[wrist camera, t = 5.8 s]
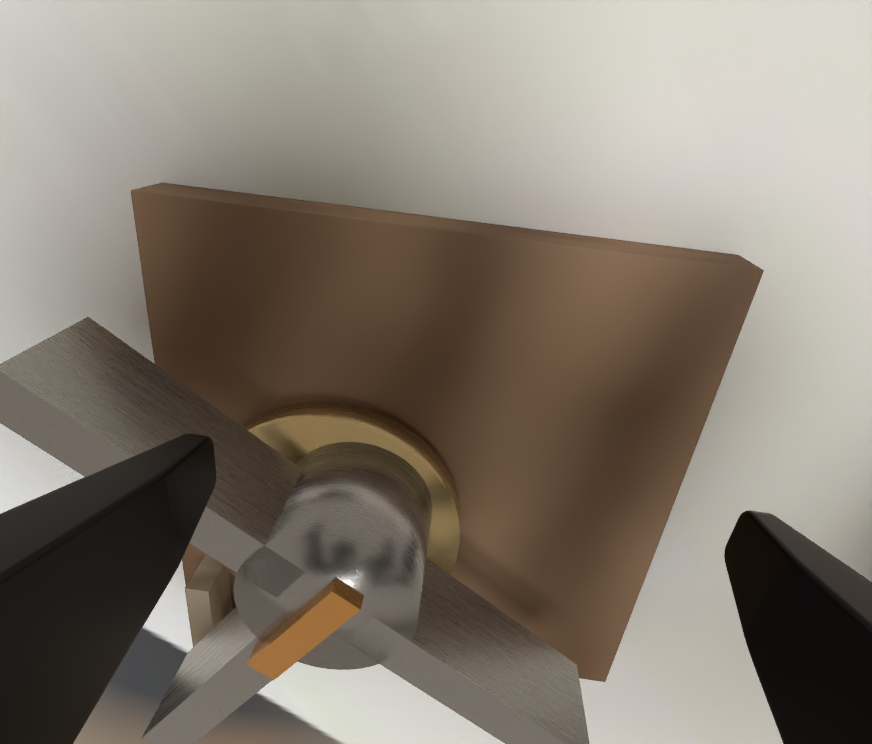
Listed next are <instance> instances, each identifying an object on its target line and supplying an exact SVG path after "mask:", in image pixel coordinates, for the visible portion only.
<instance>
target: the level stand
mask: <svg viewBox="0 0 872 744" xmlns="http://www.w3.org/2000/svg"><path fill="white" fill-rule="evenodd" d="M131 196H132V203H133V210H134V217H135V225H136V232H137V239H138V246H139V253H140V260H141V268H142V275H143V282H144V289H145V296H146V303H147V311H148V318H149V325H150V332H151V339H152V347H153V354H154V361H155V365H156V366H158V367H159V368H161V369H162V370H163V371H165V372H166V373H168V374H169V375H171V376H172V377H173V378H175V379H176V380H178V381H179V382H180V383H182V384H183V385H185V386H186V387H187V388H189V389H190V390H192V391H193V392H194V393H196V394H197V395H199V396H200V397H201V398H203V399H204V400H206V401H207V402H208V403H210V404H211V405H213V406H214V407H215V408H217V409H218V410H220V411H221V412H222V413H224V414H225V415H227V416H228V417H230V418H231V419H232V420H234V421H235V422H237V423H238V424H239V425H241V426H242V427H244V426H245V425H247V424H248V423H249V422H251V421H252V420H254V419H255V418H257V417H259V416H261V415H263V414H265V413H267V412H269V411H272V410H274V409H277V408H280V407H283V406H288V405H293V404H297V403H306V402H335V403H342V404H348V405H354V406H357V407H361V408H365V409H368V410H371V411H374V412H376V413H379V414H382V415H384V416H387V417H388V418H390V419H392V420H394V421H396V422H398V423H400V424H402V425H403V426H405V427H406V428H408V429H409V430H411V431H412V432H413V433H415V434H416V435H418V436H419V437H420V438H421V439H422V440H423V441H424V442H426V443H427V444H428V445H429V446H430V447H431V448H432V449H433V451H434V452H435V453H436V454H437V455H438V456H439V457H440V459H441V460H442V462H443V463H444V465H445V466H446V468H447V469H448V471H449V473H450V475H451V477H452V479H453V481H454V483H455V486H456V489H457V492H458V495H459V500H460V507H461V527H460V542H459V550H458V555H457V559H456V562H455V564H454V567H453V570H452V572H451V573H450V575H452V576H453V577H454V578H456V579H457V580H459V581H460V582H461V583H463V584H464V585H466V586H467V587H468V588H470V589H471V590H473V591H474V592H475V593H477V594H478V595H480V596H481V597H482V598H484V599H485V600H487V601H488V602H489V603H491V604H492V605H494V606H495V607H496V608H498V609H499V610H501V611H502V612H504V613H505V614H506V615H508V616H509V617H511V618H512V619H513V620H515V621H516V622H518V623H519V624H520V625H522V626H523V627H525V628H526V629H527V630H529V631H530V632H532V633H533V634H534V635H536V636H537V637H539V638H540V639H541V640H543V641H544V642H546V643H547V644H548V645H550V646H551V647H553V648H554V649H555V650H557V651H558V652H560V653H561V654H563V655H564V656H565V657H567V658H568V659H570V660H571V661H572V662H574V663H575V664H577V668H578V675H579V678H582V679H589V680H596V681H603V682H605V681H606V678H607V675H608V673H609V670H610V668H611V665H612V662H613V660H614V657H615V655H616V652H617V649H618V647H619V644H620V642H621V639H622V637H623V634H624V631H625V629H626V626H627V624H628V621H629V618H630V616H631V613H632V611H633V608H634V605H635V603H636V600H637V598H638V595H639V592H640V590H641V587H642V585H643V582H644V580H645V577H646V574H647V572H648V569H649V567H650V564H651V561H652V559H653V556H654V554H655V551H656V548H657V546H658V543H659V541H660V538H661V535H662V533H663V530H664V528H665V525H666V523H667V520H668V517H669V515H670V512H671V510H672V507H673V504H674V502H675V499H676V497H677V494H678V491H679V489H680V486H681V484H682V481H683V478H684V476H685V473H686V471H687V468H688V466H689V463H690V460H691V458H692V455H693V453H694V450H695V447H696V445H697V442H698V440H699V437H700V434H701V432H702V429H703V427H704V424H705V421H706V419H707V416H708V414H709V411H710V409H711V406H712V403H713V401H714V398H715V396H716V393H717V390H718V388H719V385H720V383H721V380H722V377H723V375H724V372H725V370H726V367H727V364H728V362H729V359H730V357H731V354H732V352H733V349H734V346H735V344H736V341H737V339H738V336H739V333H740V331H741V328H742V326H743V323H744V320H745V318H746V315H747V313H748V310H749V307H750V305H751V302H752V300H753V297H754V295H755V292H756V289H757V287H758V284H759V282H760V279H761V276H762V274H763V271H764V270H762V269H761V268H759V267H757V266H756V265H754V264H752V263H751V262H749V261H747V260H746V259H744V258H742V257H741V256H739V255H733V254H725V253H717V252H709V251H701V250H693V249H685V248H677V247H669V246H661V245H653V244H645V243H637V242H629V241H621V240H613V239H605V238H597V237H589V236H581V235H573V234H565V233H558V232H550V231H542V230H534V229H526V228H518V227H510V226H502V225H494V224H486V223H478V222H470V221H462V220H454V219H446V218H438V217H430V216H422V215H414V214H406V213H398V212H390V211H382V210H374V209H366V208H359V207H351V206H343V205H335V204H327V203H319V202H311V201H303V200H295V199H287V198H279V197H271V196H263V195H255V194H247V193H239V192H231V191H223V190H215V189H207V188H199V187H191V186H183V185H175V184H167V183H159V184H155V185H151V186H147V187H143V188H139V189H135V190H131ZM182 562H183V569H184V576H185V583H186V587H185V593H186V600H187V607H188V614H189V621H190V628H191V635H192V642H193V647H194V646H195V645H196V644H198V643H199V642H200V641H201V640H202V639H203V638H204V637H205V636H206V635H207V634H208V633H209V632H210V631H211V630H212V629H213V628H214V627H216V626H217V625H218V624H219V623H220V622H221V621H222V620H223V619H224V618H225V617H226V616H227V615H228V614H229V613H230V612H231V611H232V610H233V609H235V608H236V604H235V600H234V591H233V588H234V580H235V576H234V575H233V574H232V573H231V572H230V571H229V570H228V569H227V568H226V567H225V565H223V564H222V563H220V562H219V561H217V560H215V559H214V558H212V557H211V556H209V555H208V554H206V553H204V552H203V551H201V550H200V549H198V548H197V547H195V546H193V545H192V544H190V543H189V545H188V547H187V549H186V552H185V554H184V556H183V558H182Z"/></svg>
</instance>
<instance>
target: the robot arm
mask: <svg viewBox="0 0 872 744" xmlns="http://www.w3.org/2000/svg"><path fill="white" fill-rule="evenodd" d="M215 484H216V464H215V453H214V444H213V441H212V439H211V438H210V437H209V436H205V435H198V434H190V433H187V434H184V435H181V436H179V437H177V438H174V439H172V440H170V441H167V442H165V443H163V444H160V445H158V446H156V447H154V448H151V449H149V450H147V451H144V452H142V453H140V454H137V455H135V456H133V457H130V458H128V459H126V460H124V461H121V462H119V463H117V464H114V465H112V466H110V467H107V468H105V469H103V470H100V471H98V472H96V473H94V474H91V475H89V476H87V477H84V478H82V479H80V480H77V481H75V482H73V483H70V484H68V485H66V486H64V487H61V488H59V489H57V490H54V491H52V492H50V493H47V494H45V495H43V496H40V497H38V498H36V499H34V500H31V501H29V502H27V503H24V504H22V505H20V506H17V507H15V508H13V509H10V510H8V511H6V512H4V513H1V514H0V744H73V743H74V741H75V739H76V737H77V736H78V734H79V733H80V731H81V729H82V728H83V726H84V724H85V722H86V721H87V719H88V717H89V716H90V714H91V712H92V711H93V709H94V707H95V706H96V704H97V702H98V701H99V699H100V697H101V696H102V694H103V692H104V691H105V689H106V687H107V686H108V684H109V682H110V681H111V679H112V677H113V676H114V674H115V672H116V671H117V669H118V667H119V665H120V664H121V662H122V661H123V659H124V657H125V655H126V654H127V652H128V650H129V649H130V647H131V645H132V644H133V642H134V640H135V639H136V637H137V635H138V634H139V632H140V630H141V629H142V627H143V625H144V624H145V622H146V620H147V619H148V617H149V615H150V614H151V612H152V610H153V609H154V607H155V605H156V604H157V602H158V600H159V599H160V597H161V595H162V594H163V592H164V590H165V588H166V587H167V585H168V583H169V582H170V580H171V578H172V577H173V575H174V573H175V571H176V570H177V568H178V566H179V564H180V562H181V560H182V558H183V556H184V554H185V552H186V549H187V547H188V545H189V543H190V541H191V538H192V536H193V534H194V532H195V530H196V527H197V525H198V523H199V521H200V519H201V516H202V514H203V512H204V510H205V508H206V505H207V503H208V501H209V499H210V497H211V494H212V492H213V490H214V487H215ZM724 556H725V563H726V567H727V571H728V575H729V579H730V582H731V586H732V590H733V594H734V598H735V602H736V605H737V609H738V613H739V617H740V621H741V625H742V628H743V632H744V636H745V639H746V643H747V646H748V649H749V652H750V655H751V658H752V661H753V664H754V666H755V669H756V672H757V674H758V677H759V680H760V682H761V685H762V688H763V690H764V693H765V696H766V698H767V701H768V704H769V706H770V709H771V712H772V714H773V717H774V720H775V722H776V725H777V728H778V730H779V733H780V735H781V738H782V741H783V743H784V744H872V582H871V581H869V580H868V579H866V578H865V577H863V576H862V575H860V574H859V573H857V572H856V571H855V570H853V569H852V568H850V567H849V566H847V565H846V564H844V563H843V562H841V561H840V560H838V559H837V558H836V557H834V556H833V555H831V554H830V553H828V552H827V551H825V550H824V549H822V548H821V547H819V546H818V545H817V544H815V543H814V542H812V541H811V540H809V539H808V538H806V537H805V536H803V535H802V534H800V533H799V532H798V531H796V530H795V529H793V528H792V527H790V526H789V525H787V524H786V523H784V522H783V521H781V520H780V519H779V518H777V517H776V516H774V515H772V514H769V513H763V512H756V511H745V512H743V513H742V514H741V515H740V517H739V519H738V521H737V523H736V525H735V527H734V530H733V532H732V534H731V536H730V538H729V540H728V543H727V545H726V548H725V555H724Z"/></svg>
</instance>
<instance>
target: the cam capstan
mask: <svg viewBox="0 0 872 744" xmlns="http://www.w3.org/2000/svg"><path fill="white" fill-rule="evenodd" d="M0 423H1V424H3V425H4V426H6V427H8V428H9V429H11V430H12V431H14V432H15V433H17V434H19V435H20V436H22V437H23V438H25V439H26V440H28V441H30V442H31V443H33V444H34V445H36V446H38V447H39V448H41V449H42V450H44V451H45V452H47V453H49V454H50V455H52V456H53V457H55V458H56V459H58V460H60V461H61V462H63V463H64V464H66V465H67V466H69V467H71V468H72V469H74V470H75V471H77V472H78V473H80V474H82V475H83V476H85V477H87V476H89V475H91V474H94V473H96V472H98V471H100V470H103V469H105V468H107V467H110V466H112V465H114V464H117V463H119V462H121V461H124V460H126V459H128V458H130V457H133V456H135V455H137V454H140V453H142V452H144V451H147V450H149V449H151V448H154V447H156V446H158V445H160V444H163V443H165V442H167V441H170V440H172V439H174V438H177V437H179V436H181V435H184V434H187V433H190V434H198V435H205V436H209V437H210V438H211V439H212V441H213V444H214V453H215V464H216V484H215V487H214V490H213V492H212V494H211V497H210V499H209V501H208V503H207V505H206V508H205V510H204V512H203V514H202V516H201V519H200V521H199V523H198V525H197V527H196V530H195V532H194V534H193V536H192V538H191V541H190V544H192V545H193V546H195V547H197V548H198V549H200V550H201V551H203V552H204V553H206V554H208V555H209V556H211V557H212V558H214V559H215V560H217V561H219V562H220V563H222V564H223V565H225V567H226V568H227V569H228V570H229V571H230V572H231V573H232V574H233V575H234V576H235V580H234V588H233V591H234V600H235V604H236V608H235V609H233V610H232V611H231V612H230V613H229V614H228V615H227V616H226V617H225V618H224V619H223V620H222V621H221V622H220V623H219V624H218V625H217V626H216V627H214V628H213V629H212V630H211V631H210V632H209V633H208V634H207V635H206V636H205V637H204V638H203V639H202V640H201V641H200V642H199V643H198V644H196V645H195V646H194V647H193V648H192V649H191V650H190V651H189V652H188V654H187V655H186V658H185V659H184V661H183V663H182V665H181V666H180V668H179V670H178V672H177V674H176V676H175V677H174V679H173V681H172V683H171V685H170V687H169V688H168V690H167V692H166V694H165V696H164V698H163V699H162V701H161V703H160V705H159V707H158V709H157V710H156V712H155V714H154V716H153V718H152V720H151V722H150V724H149V725H148V727H147V729H146V731H145V733H144V734H143V736H142V738H141V739H143V740H145V741H147V742H149V743H150V744H193V743H195V742H196V741H197V740H198V739H200V738H201V737H202V736H203V735H205V734H206V733H207V732H208V731H210V730H211V729H212V728H213V727H215V726H216V725H217V724H218V723H219V722H220V721H222V720H223V719H224V718H226V717H227V716H228V715H229V714H231V713H232V712H233V711H234V710H235V709H237V708H238V707H239V706H240V705H242V704H243V703H244V702H246V701H247V700H248V699H249V698H250V697H252V696H253V695H254V694H255V693H257V692H258V691H259V690H260V689H262V688H263V687H264V686H265V685H267V684H268V683H269V682H270V681H272V680H274V679H276V678H277V677H278V676H279V675H281V674H282V673H283V672H284V671H286V670H287V669H288V668H289V667H291V666H292V665H293V664H294V663H296V662H297V661H298V662H301V663H304V664H307V665H311V666H315V667H321V668H327V669H338V670H342V669H359V668H365V667H369V666H373V665H376V664H381V665H382V666H384V667H386V668H387V669H389V670H390V671H392V672H393V673H395V674H397V675H398V676H400V677H401V678H403V679H404V680H406V681H408V682H409V683H411V684H412V685H414V686H415V687H417V688H419V689H420V690H422V691H423V692H425V693H427V694H428V695H430V696H431V697H433V698H434V699H436V700H438V701H439V702H441V703H442V704H444V705H445V706H447V707H449V708H450V709H452V710H453V711H455V712H456V713H458V714H460V715H461V716H463V717H464V718H466V719H467V720H469V721H471V722H472V723H474V724H475V725H477V726H478V727H480V728H482V729H483V730H485V731H486V732H488V733H490V734H491V735H493V736H494V737H496V738H497V739H499V740H501V741H502V742H504V743H505V744H589V738H588V731H587V725H586V719H585V713H584V706H583V700H582V694H581V687H580V681H579V675H578V668H577V664H575V663H574V662H572V661H571V660H570V659H568V658H567V657H565V656H564V655H563V654H561V653H560V652H558V651H557V650H555V649H554V648H553V647H551V646H550V645H548V644H547V643H546V642H544V641H543V640H541V639H540V638H539V637H537V636H536V635H534V634H533V633H532V632H530V631H529V630H527V629H526V628H525V627H523V626H522V625H520V624H519V623H518V622H516V621H515V620H513V619H512V618H511V617H509V616H508V615H506V614H505V613H504V612H502V611H501V610H499V609H498V608H496V607H495V606H494V605H492V604H491V603H489V602H488V601H487V600H485V599H484V598H482V597H481V596H480V595H478V594H477V593H475V592H474V591H473V590H471V589H470V588H468V587H467V586H466V585H464V584H463V583H461V582H460V581H459V580H457V579H456V578H454V577H453V576H452V575H450V573H451V572H452V570H453V567H454V564H455V562H456V559H457V555H458V550H459V542H460V527H461V507H460V500H459V495H458V492H457V489H456V486H455V483H454V481H453V479H452V477H451V475H450V473H449V471H448V469H447V468H446V466H445V465H444V463H443V462H442V460H441V459H440V457H439V456H438V455H437V454H436V453H435V452H434V451H433V449H432V448H431V447H430V446H429V445H428V444H427V443H426V442H424V441H423V440H422V439H421V438H420V437H419V436H418V435H416V434H415V433H413V432H412V431H411V430H409V429H408V428H406V427H405V426H403V425H402V424H400V423H398V422H396V421H394V420H392V419H390V418H388V417H387V416H384V415H382V414H379V413H376V412H374V411H371V410H368V409H365V408H361V407H357V406H354V405H348V404H342V403H335V402H306V403H297V404H293V405H288V406H283V407H280V408H277V409H274V410H272V411H269V412H267V413H265V414H263V415H261V416H259V417H257V418H255V419H254V420H252V421H251V422H249V423H248V424H247V425H245V426H244V427H242V426H241V425H239V424H238V423H237V422H235V421H234V420H232V419H231V418H230V417H228V416H227V415H225V414H224V413H222V412H221V411H220V410H218V409H217V408H215V407H214V406H213V405H211V404H210V403H208V402H207V401H206V400H204V399H203V398H201V397H200V396H199V395H197V394H196V393H194V392H193V391H192V390H190V389H189V388H187V387H186V386H185V385H183V384H182V383H180V382H179V381H178V380H176V379H175V378H173V377H172V376H171V375H169V374H168V373H166V372H165V371H163V370H162V369H161V368H159V367H158V366H156V365H155V364H154V363H152V362H151V361H149V360H148V359H147V358H145V357H144V356H142V355H141V354H140V353H138V352H137V351H135V350H134V349H133V348H131V347H130V346H128V345H127V344H126V343H124V342H123V341H121V340H120V339H119V338H117V337H116V336H114V335H113V334H111V333H110V332H109V331H107V330H106V329H104V328H103V327H102V326H100V325H99V324H97V323H96V322H95V321H93V320H92V319H90V318H89V317H87V318H85V319H83V320H81V321H80V322H78V323H76V324H74V325H72V326H70V327H68V328H67V329H65V330H63V331H61V332H59V333H57V334H55V335H54V336H52V337H50V338H48V339H46V340H44V341H42V342H40V343H39V344H37V345H35V346H33V347H31V348H29V349H27V350H26V351H24V352H22V353H20V354H18V355H16V356H14V357H13V358H11V359H9V360H7V361H5V362H3V363H1V364H0Z"/></svg>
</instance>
